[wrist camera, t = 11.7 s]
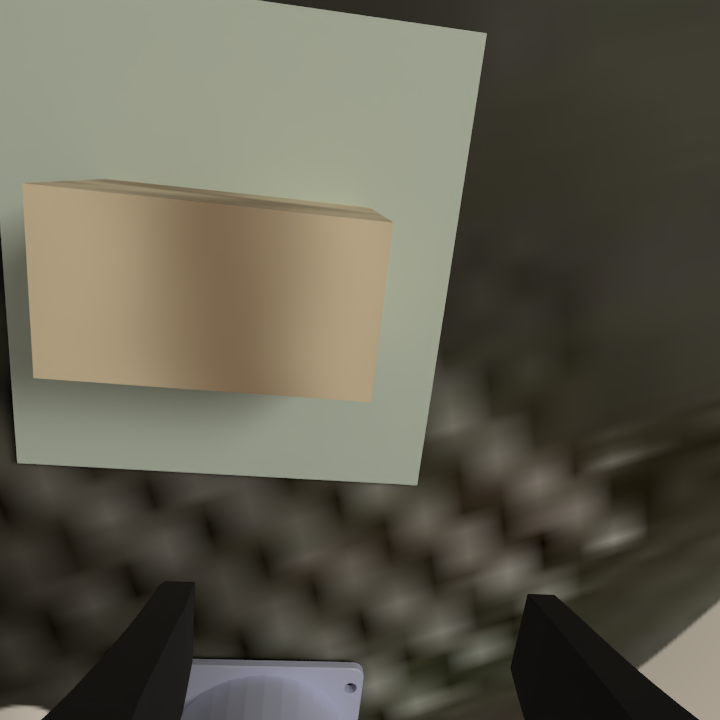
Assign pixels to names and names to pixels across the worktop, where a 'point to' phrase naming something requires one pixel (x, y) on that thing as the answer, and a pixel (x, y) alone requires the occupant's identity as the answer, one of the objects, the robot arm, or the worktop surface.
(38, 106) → the rubber mat
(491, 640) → the worktop surface
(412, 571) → the worktop surface
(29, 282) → the birch block
